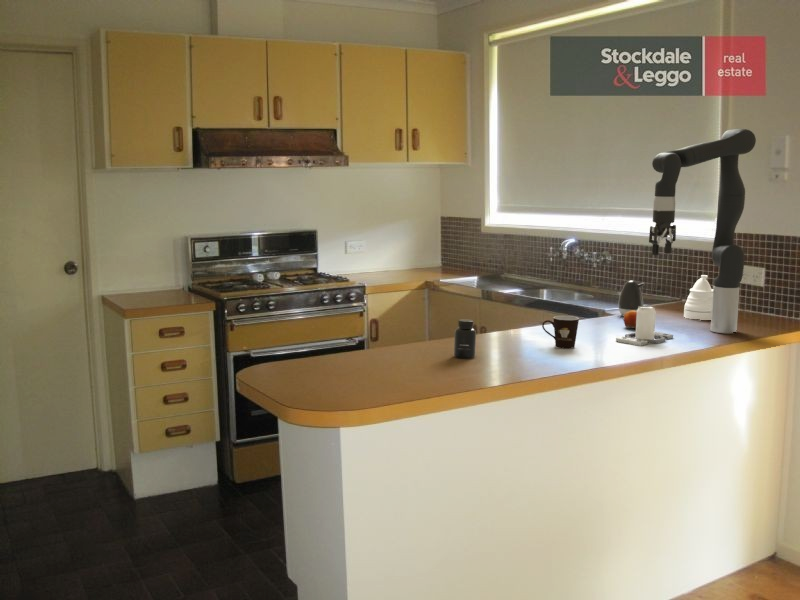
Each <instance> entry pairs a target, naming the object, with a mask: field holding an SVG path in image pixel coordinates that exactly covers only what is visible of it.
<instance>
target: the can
mask: <svg viewBox="0 0 800 600" xmlns="http://www.w3.org/2000/svg"><path fill="white" fill-rule="evenodd" d="M655 308H656V307H655V306H651V305H643V306H638V310H637V317H636V328H635V333H636V337H634V338H637V339H650V340H655V338H654V333H655V332H656V331H655V328H656V309H655Z"/></svg>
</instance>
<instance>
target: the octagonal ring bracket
mask: <svg viewBox="0 0 800 600" xmlns="http://www.w3.org/2000/svg"><path fill="white" fill-rule="evenodd" d="M635 337H636V332H631V333H628V334H625V335H624V336H620V337H616V338H615V342H616V341H618V342H617V343H622V342H624V344H627V343H629V344H628V345H633V344H635V346H638V347H639V346H640V347H642V346H646V345H648V344H661V343H665V342H666V340H670V339H674V334H670V333H666V332H665V333H664V332H658V331H655V333H654V340H650V339H637V338H635Z"/></svg>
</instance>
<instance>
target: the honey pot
mask: <svg viewBox="0 0 800 600" xmlns="http://www.w3.org/2000/svg"><path fill="white" fill-rule="evenodd" d="M712 299H713V288H712V287H711V285H710V282H709V281H708V275H706V274H701V275H700V278H699V279H697V280H696V282H695V283H694V284H693V286H692V288H690V289H689V294H688V296H687V299H686V302H685V304H684V307H683V308H684V309H683V318H684V317H685V318H684V319H686V318H689V319H688V320H691V319H700V320H699V321H701V320H711V314H712Z"/></svg>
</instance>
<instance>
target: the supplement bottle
mask: <svg viewBox="0 0 800 600" xmlns="http://www.w3.org/2000/svg"><path fill="white" fill-rule="evenodd" d="M457 323H458V324H457V326H458V327H457V328H456V329H455V330H454V342H453V343H454V344H453V356H454V358H457V359H461V360H462V359H464V360H468V359H469V360H470V359H474V358H475V356H476V342H477V341H476V338H477V330H476V329H474V328H473V327H474V320H473V319H468V318H467V319H466V318H464V319H463V318H462V319H458V321H457Z"/></svg>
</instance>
